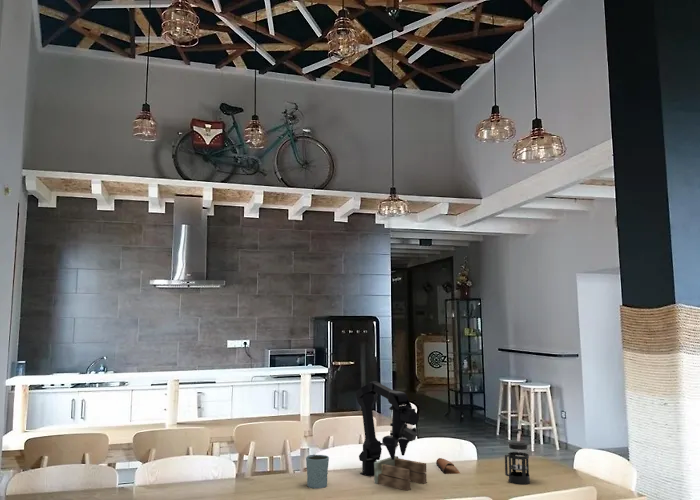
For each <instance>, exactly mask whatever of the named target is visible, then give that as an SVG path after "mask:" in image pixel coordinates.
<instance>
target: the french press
mask: <svg viewBox="0 0 700 500" xmlns="http://www.w3.org/2000/svg"><path fill="white" fill-rule="evenodd" d="M512 431H515V432H516V435H517V437H516V438H517V440H512V441H507V445H508V448H509V449H512V450H517V451H512V452H511V451H510V452H508V453H507V454H505V455H504V471H505V472H504V474H505V476H506V477H508V482H509V483H510V484H513V485H523V486H524V485H530V484H531V481H530V469H529V454H528V452H527V453H525V452H522V451H525V450H527V449H528V445H529V443H528V442H526V441H519V434H520V432H523V429H520V428H513V429H512ZM519 450H520V451H521V452H520V451H519ZM520 460H521V464H520ZM517 461H518V462H517ZM516 463H517V464H516Z"/></svg>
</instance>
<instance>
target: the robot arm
mask: <svg viewBox="0 0 700 500" xmlns="http://www.w3.org/2000/svg"><path fill="white" fill-rule="evenodd" d="M376 395H380V396H382V398H385V399H387V402H388V403H389V404H390V405H391V406H390V407H389V410H391V411H392V415H391V418H392V419H391V423H390V424H389V426H390V427H391V432H390V433H389V435H386V436H383V437H382V439H381V440H382V441H381V440H378V438H377V437H376V430H375V421H374V415H373V414H374V413H373V404H374V403H375V396H376ZM355 397H356V400H357V403H358V405H359V406H360V408H361V411H362V412H361V414H362V423H363V431H364V442H363V444H362V451H361V453H359V455H358V459H359V461H360V462H361V464H362V465H361V466H362V467H361V468H362V469H361V470H362V472H360V473H359V474H360V475H364V476H368V477H372V476H373V477H374V462H376V461H380V460H381V455H382V449H383V447H382V444H383V445H384V446H385V448H386V449H387V452H388V454H389V457H391V459H392V460H394V458H395V456H396V449H397V447H398V446H399V449H400V453H401V456H405V454H406V452H407V447H408V444H409V443H410V442H413V441H416V440H417V439H416V438H417V437H418V436H419V432H418V428H417V427H412V428H409V427H408V425H411V426H416V425H417V424H418V423H419V419H420V418H419V414H418V412H416V408H413V407H412V404H411V401H410V400H409V398H408V397H409V396H408V395H407V393H406V392H404V391H402V390H401V391H399V390H394V389H392V388H390V387H388V386H386V385H384V384H382V383H380V382H379V381H370V382H369V383H367V384H365V385H364V386H362V387H360V388H358V389H357V391H356V393H355ZM381 442H382V443H381Z"/></svg>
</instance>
